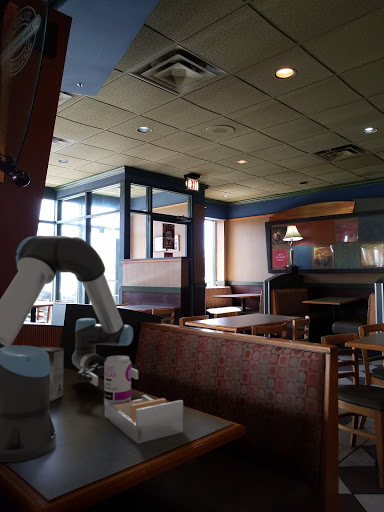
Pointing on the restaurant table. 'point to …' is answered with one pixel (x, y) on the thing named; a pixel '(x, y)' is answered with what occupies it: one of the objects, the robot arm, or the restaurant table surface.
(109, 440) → the restaurant table surface
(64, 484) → the restaurant table surface
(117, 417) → the white drawer tray
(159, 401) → the plate
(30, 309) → the robot arm
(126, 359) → the supplement can
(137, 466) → the restaurant table surface
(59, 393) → the coffee box
